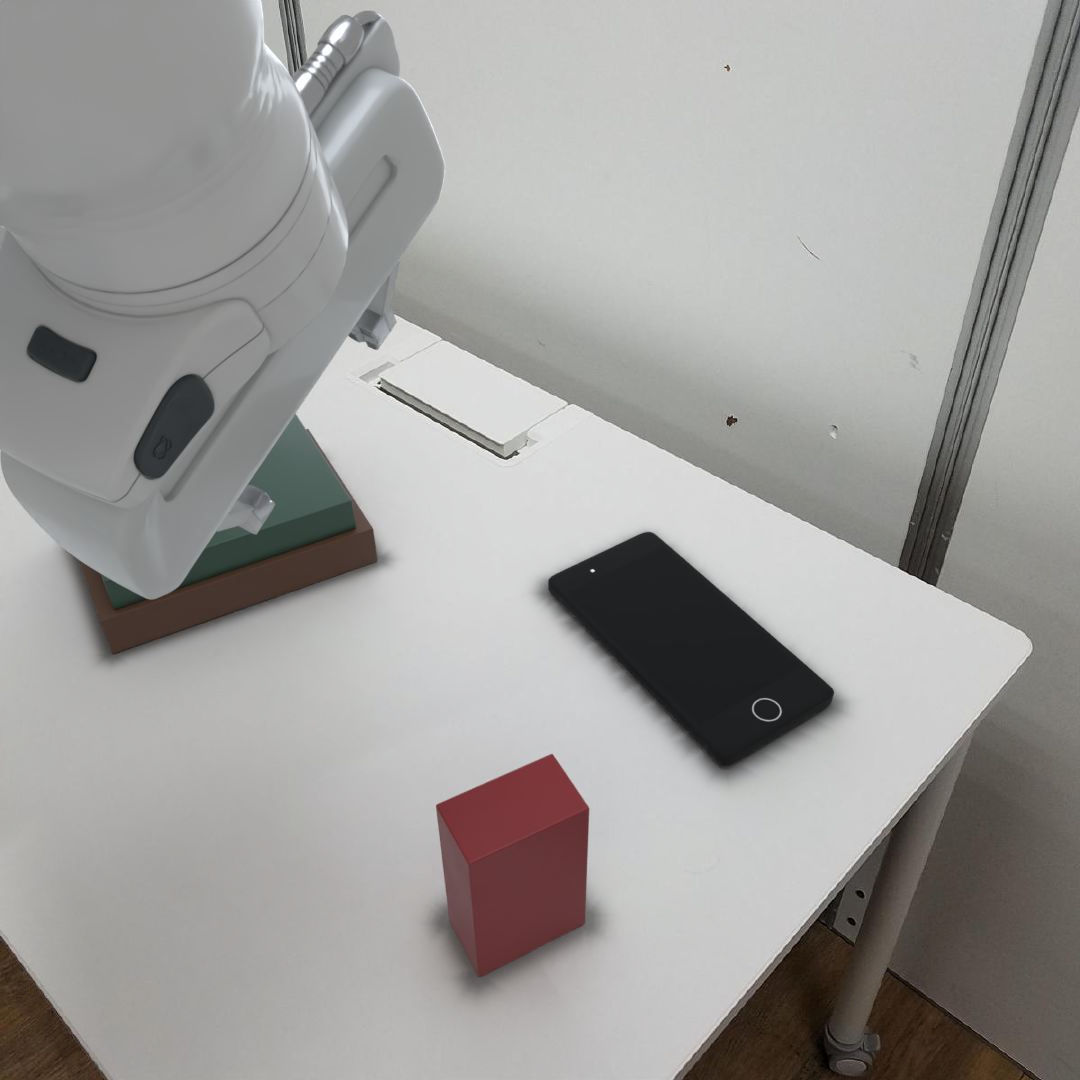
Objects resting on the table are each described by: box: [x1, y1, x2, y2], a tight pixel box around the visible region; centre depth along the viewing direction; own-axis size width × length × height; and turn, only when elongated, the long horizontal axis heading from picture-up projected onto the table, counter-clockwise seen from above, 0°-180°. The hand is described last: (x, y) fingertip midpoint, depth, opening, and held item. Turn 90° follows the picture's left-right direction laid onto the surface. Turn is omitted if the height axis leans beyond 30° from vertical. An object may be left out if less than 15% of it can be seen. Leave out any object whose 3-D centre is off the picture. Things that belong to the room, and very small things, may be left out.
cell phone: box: [547, 531, 835, 767], centre depth 70 cm, size 9×18×1 cm, turn 34°
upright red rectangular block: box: [435, 753, 590, 978], centre depth 53 cm, size 6×4×10 cm, turn 118°
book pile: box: [78, 413, 379, 655], centre depth 76 cm, size 18×13×6 cm
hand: (313, 420), depth 47 cm, fingers open, 8 cm apart
